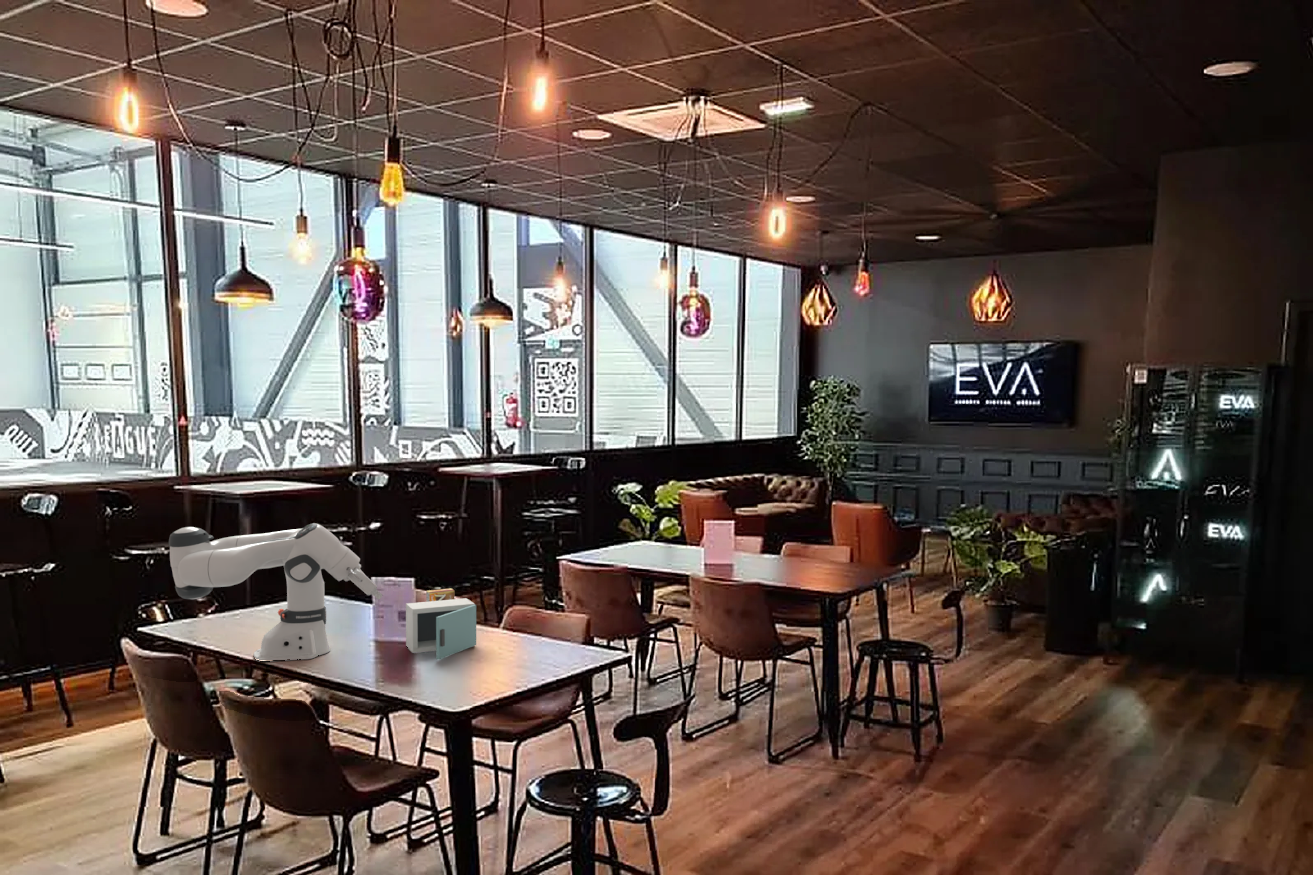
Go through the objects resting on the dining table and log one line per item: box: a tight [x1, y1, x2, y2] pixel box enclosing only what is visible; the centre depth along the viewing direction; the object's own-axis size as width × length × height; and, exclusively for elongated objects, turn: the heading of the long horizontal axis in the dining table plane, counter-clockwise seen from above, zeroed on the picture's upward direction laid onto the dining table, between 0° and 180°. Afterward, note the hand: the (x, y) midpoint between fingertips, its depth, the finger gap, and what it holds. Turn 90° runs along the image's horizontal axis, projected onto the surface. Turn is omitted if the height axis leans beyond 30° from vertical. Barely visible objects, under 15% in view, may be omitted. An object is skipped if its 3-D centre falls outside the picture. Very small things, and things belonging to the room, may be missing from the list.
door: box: [435, 604, 477, 661], centre depth 294 cm, size 20×2×13 cm, turn 157°
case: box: [405, 597, 476, 654], centre depth 304 cm, size 20×10×14 cm, turn 117°
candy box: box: [425, 588, 456, 602], centre depth 320 cm, size 9×4×15 cm, turn 121°
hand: (379, 596), depth 279 cm, fingers open, 2 cm apart
